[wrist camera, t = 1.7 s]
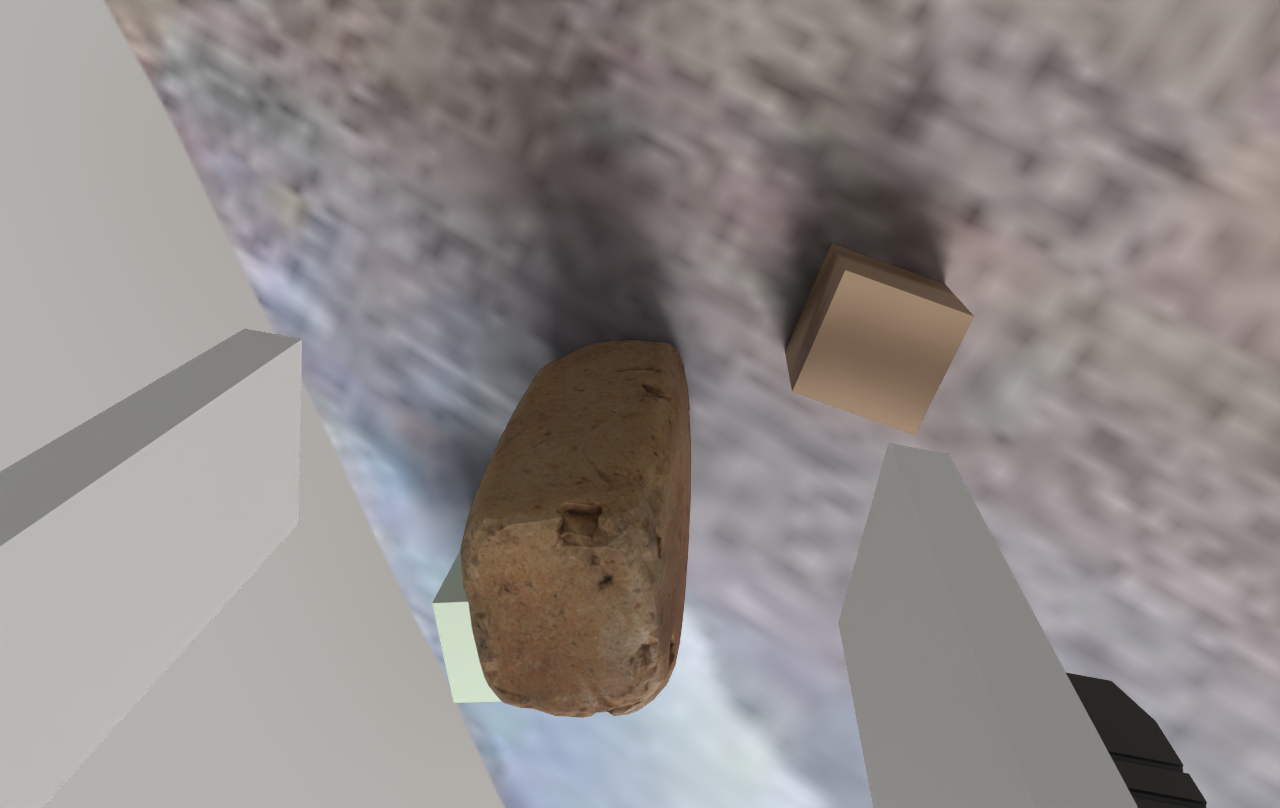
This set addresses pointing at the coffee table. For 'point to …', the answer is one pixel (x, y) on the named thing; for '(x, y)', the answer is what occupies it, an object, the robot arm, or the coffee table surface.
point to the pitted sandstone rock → (585, 534)
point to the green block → (459, 640)
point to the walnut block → (875, 339)
